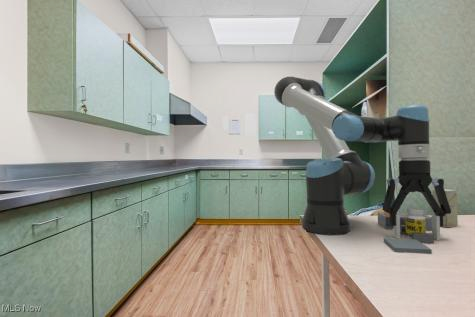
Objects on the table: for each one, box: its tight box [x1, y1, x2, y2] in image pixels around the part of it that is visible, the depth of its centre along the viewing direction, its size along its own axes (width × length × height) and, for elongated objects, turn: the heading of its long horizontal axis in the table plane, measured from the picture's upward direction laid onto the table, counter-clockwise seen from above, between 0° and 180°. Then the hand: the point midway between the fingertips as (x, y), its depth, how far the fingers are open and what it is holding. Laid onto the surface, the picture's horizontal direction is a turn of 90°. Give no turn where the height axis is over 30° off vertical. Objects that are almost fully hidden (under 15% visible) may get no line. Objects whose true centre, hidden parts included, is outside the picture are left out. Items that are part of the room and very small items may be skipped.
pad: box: [383, 237, 433, 255], centre depth 66 cm, size 8×8×1 cm
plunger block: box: [377, 211, 432, 232], centre depth 86 cm, size 14×8×4 cm, turn 78°
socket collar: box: [400, 225, 435, 245], centre depth 74 cm, size 9×5×2 cm, turn 168°
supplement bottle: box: [405, 207, 427, 239], centre depth 74 cm, size 5×5×8 cm
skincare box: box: [431, 188, 459, 228], centre depth 87 cm, size 6×4×12 cm
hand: (416, 237), depth 74 cm, fingers open, 9 cm apart
